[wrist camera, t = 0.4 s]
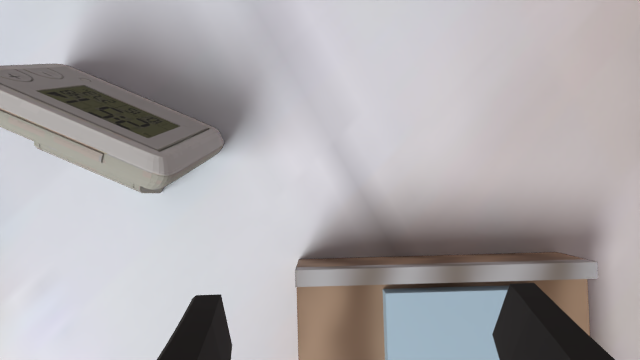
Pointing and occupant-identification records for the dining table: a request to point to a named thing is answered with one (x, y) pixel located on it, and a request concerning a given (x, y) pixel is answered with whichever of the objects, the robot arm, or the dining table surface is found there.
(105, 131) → the digital clock
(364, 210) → the dining table surface
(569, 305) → the slide box
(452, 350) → the lid plate
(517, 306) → the robot arm
